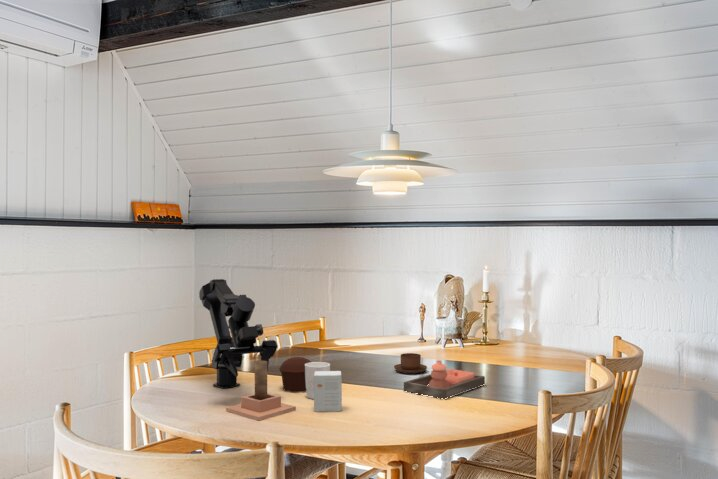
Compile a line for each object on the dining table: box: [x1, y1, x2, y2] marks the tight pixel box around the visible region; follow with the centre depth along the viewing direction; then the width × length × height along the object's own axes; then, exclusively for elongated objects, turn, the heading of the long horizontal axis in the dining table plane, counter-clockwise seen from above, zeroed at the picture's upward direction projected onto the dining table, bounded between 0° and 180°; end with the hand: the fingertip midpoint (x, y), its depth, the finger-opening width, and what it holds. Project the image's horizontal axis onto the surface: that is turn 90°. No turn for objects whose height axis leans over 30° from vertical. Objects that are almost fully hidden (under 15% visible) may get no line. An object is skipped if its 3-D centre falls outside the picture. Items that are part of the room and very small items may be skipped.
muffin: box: [278, 356, 312, 393], centre depth 216 cm, size 12×11×10 cm
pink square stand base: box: [225, 392, 297, 421], centre depth 190 cm, size 14×14×4 cm
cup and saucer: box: [393, 352, 428, 374], centre depth 242 cm, size 12×12×6 cm
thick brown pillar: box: [254, 360, 268, 400], centre depth 190 cm, size 4×4×13 cm
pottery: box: [428, 360, 476, 389], centre depth 218 cm, size 18×10×10 cm, turn 139°
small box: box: [313, 370, 343, 412], centre depth 192 cm, size 8×6×10 cm
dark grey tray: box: [403, 369, 486, 400], centre depth 217 cm, size 15×24×3 cm, turn 139°
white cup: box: [305, 361, 331, 400], centre depth 206 cm, size 8×8×10 cm
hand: (252, 374), depth 196 cm, fingers open, 9 cm apart
